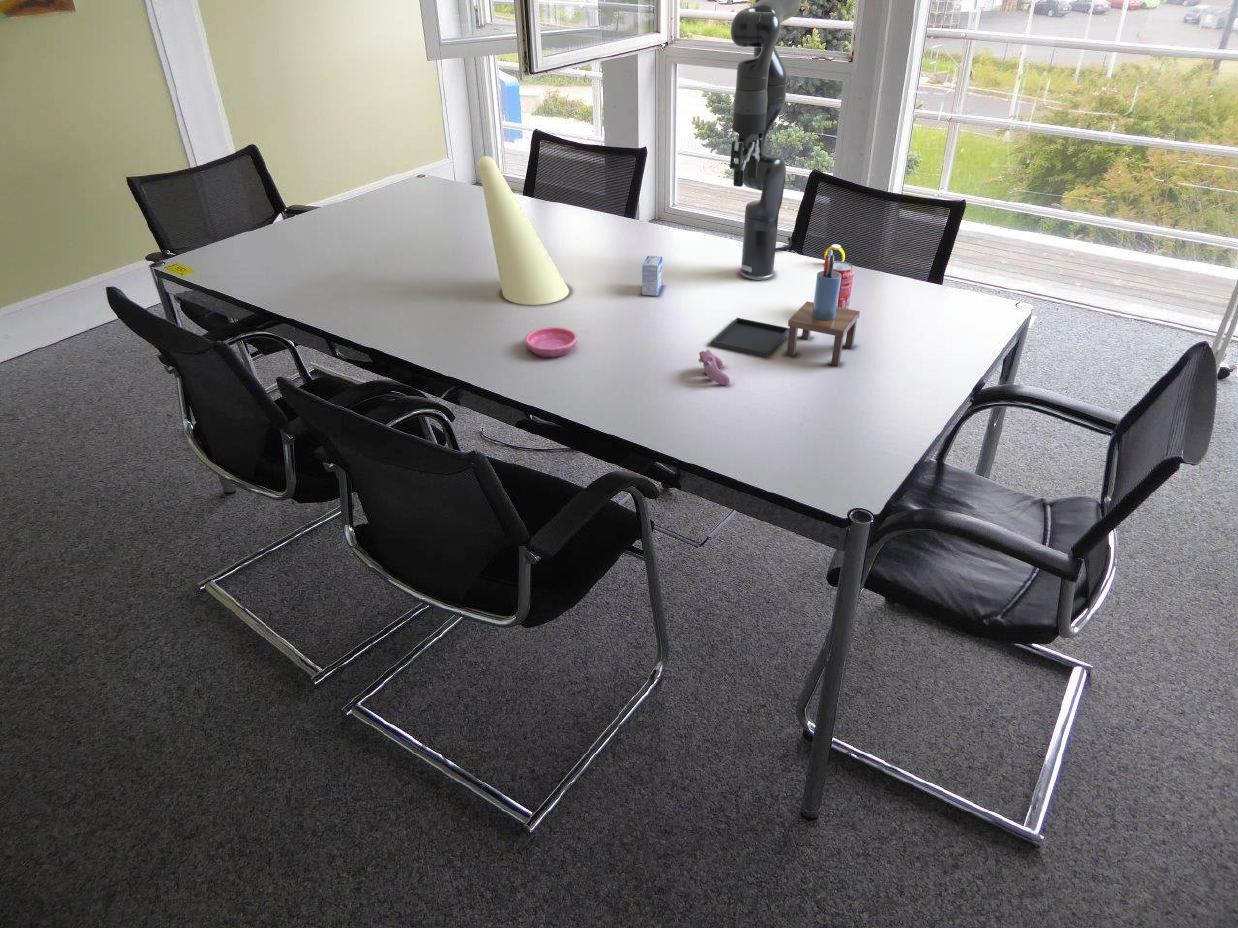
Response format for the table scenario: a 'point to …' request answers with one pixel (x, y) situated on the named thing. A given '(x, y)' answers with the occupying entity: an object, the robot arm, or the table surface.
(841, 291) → the soda can
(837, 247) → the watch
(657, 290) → the medicine box
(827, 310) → the pen cup
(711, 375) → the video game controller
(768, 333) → the tray
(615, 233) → the table surface
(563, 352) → the saucer
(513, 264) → the cone light
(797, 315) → the stool
